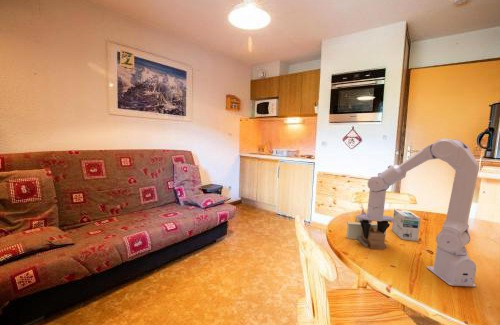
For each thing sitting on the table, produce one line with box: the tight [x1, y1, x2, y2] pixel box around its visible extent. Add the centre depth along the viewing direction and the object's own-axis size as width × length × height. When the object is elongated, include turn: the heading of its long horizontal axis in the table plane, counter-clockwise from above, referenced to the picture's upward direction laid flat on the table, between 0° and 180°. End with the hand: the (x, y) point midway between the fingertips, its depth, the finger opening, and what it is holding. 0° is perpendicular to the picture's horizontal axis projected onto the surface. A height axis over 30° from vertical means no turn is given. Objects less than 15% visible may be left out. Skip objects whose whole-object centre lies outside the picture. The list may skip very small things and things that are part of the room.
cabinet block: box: [361, 227, 386, 250], centre depth 92 cm, size 8×5×7 cm, turn 0°
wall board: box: [346, 221, 387, 249], centre depth 94 cm, size 9×16×7 cm, turn 90°
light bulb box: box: [391, 208, 422, 242], centre depth 102 cm, size 11×7×11 cm, turn 168°
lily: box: [360, 203, 372, 223], centre depth 117 cm, size 12×12×10 cm
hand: (372, 238), depth 92 cm, fingers closed on cabinet block, 5 cm apart
